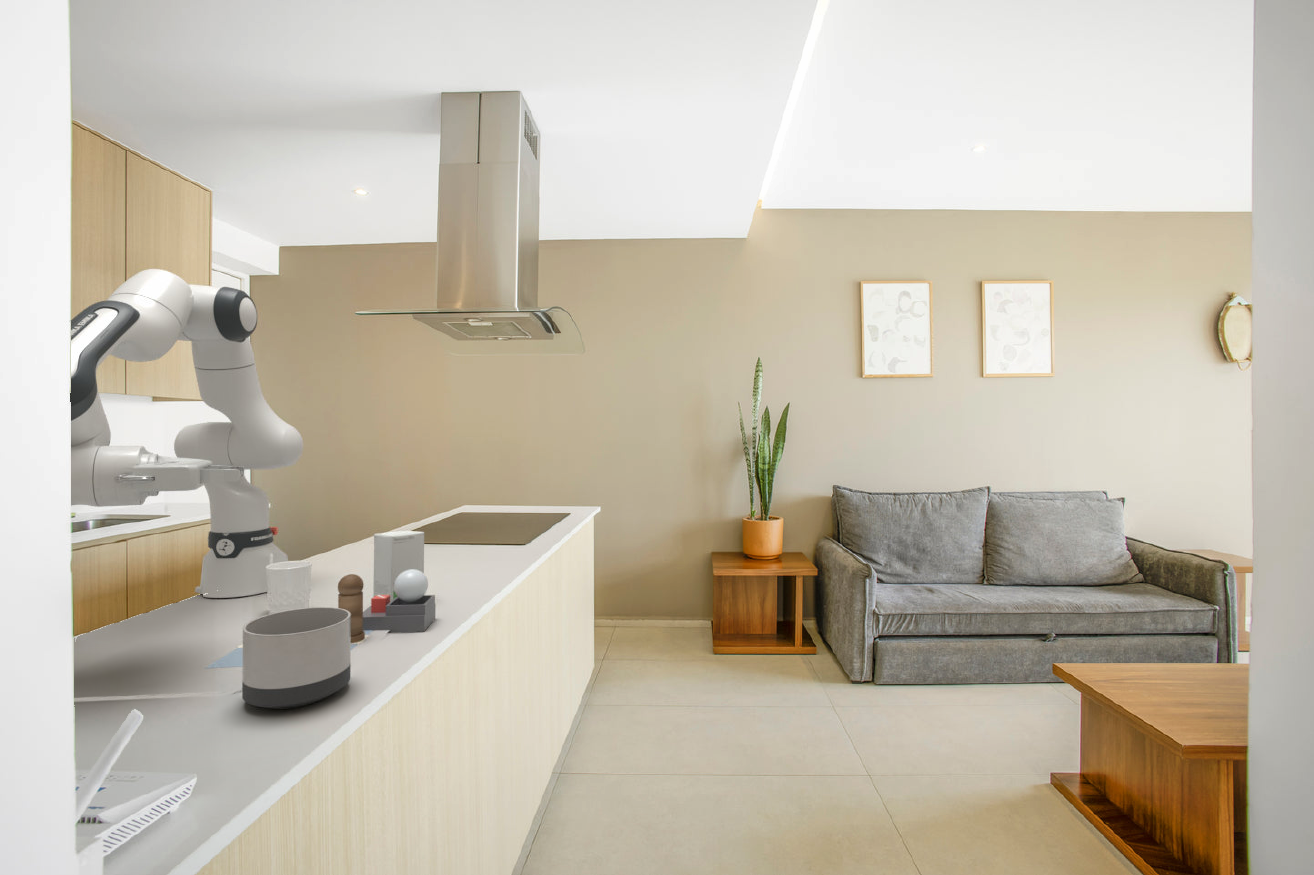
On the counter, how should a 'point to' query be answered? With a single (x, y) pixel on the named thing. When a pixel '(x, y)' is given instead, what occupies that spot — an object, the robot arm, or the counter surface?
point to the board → (236, 656)
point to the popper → (399, 614)
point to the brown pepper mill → (352, 603)
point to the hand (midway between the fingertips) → (242, 473)
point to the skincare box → (396, 558)
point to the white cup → (288, 585)
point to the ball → (411, 585)
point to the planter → (296, 657)
